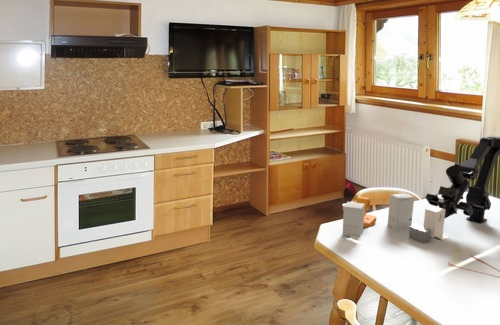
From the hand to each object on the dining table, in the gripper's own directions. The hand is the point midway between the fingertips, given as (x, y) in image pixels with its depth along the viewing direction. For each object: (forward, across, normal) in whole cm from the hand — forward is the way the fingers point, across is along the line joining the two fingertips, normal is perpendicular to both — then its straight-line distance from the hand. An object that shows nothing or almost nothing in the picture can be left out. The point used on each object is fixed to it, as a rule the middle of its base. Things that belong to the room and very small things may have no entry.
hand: (438, 220), depth 181 cm
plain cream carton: (+7, +1, 0) cm, 7 cm away
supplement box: (+24, -21, -14) cm, 35 cm away
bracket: (+15, -26, -5) cm, 30 cm away
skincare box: (+9, -14, 0) cm, 17 cm away
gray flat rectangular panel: (+8, 0, +1) cm, 8 cm away
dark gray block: (+12, 0, -5) cm, 13 cm away
